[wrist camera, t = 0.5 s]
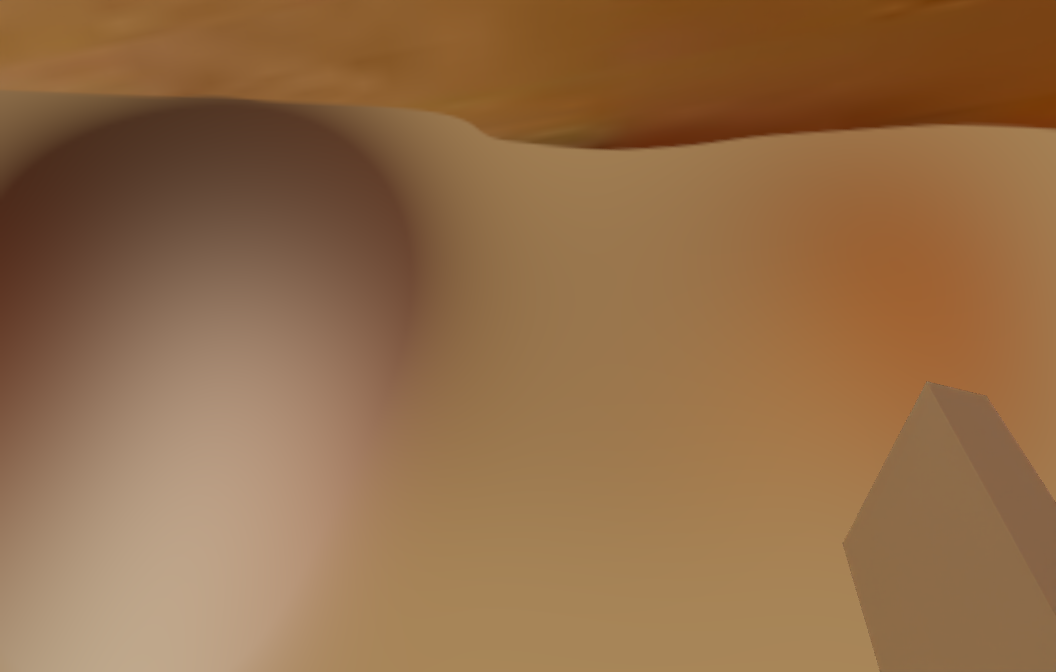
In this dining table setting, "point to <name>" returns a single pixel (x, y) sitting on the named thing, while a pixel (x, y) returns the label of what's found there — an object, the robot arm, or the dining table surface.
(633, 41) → the dining table surface
